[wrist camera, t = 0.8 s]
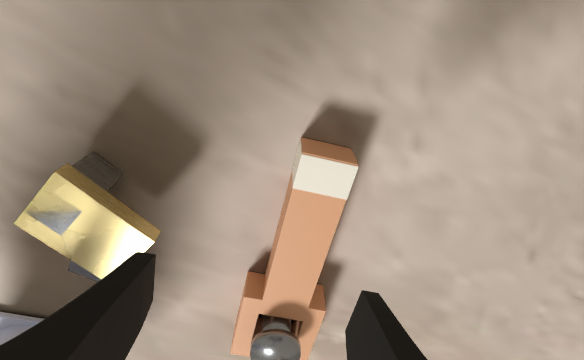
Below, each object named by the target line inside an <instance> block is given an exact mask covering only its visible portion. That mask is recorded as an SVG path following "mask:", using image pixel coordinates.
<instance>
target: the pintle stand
mask: <svg viewBox="0 0 584 360" xmlns="http://www.w3.org/2000/svg"><path fill="white" fill-rule="evenodd" d="M121 175H122V173H121V172H120V171H118V170H117V169H116V168H114V167H113V166H112V165H110V164H109V163H108V162H106V161H105V160H104V159H102V158H101V157H100V156H98V155H97V154H96V153H94V152H92V153H91V154H89V155H88V156H86V157H85V158H83V159H82V160H80V161H79V162H77V163H76V164H74V165H73V166H71V165H69V164H68V163H67V164H66V165H64V166H62V167H61V168H59V169H58V170H56V171H55V172H54V173H53V174H52V176H51V177H50V178H49V179H48V181H47V182H46V183H45V184H44V186H43V187H42V188H41V190H40V191H39V192H38V193H37V195H36V196H35V197H34V198H33V200H32V201H31V202H30V204H29V205H28V206H27V207H26V209H25V210H24V211H23V212H22V214H21V215H20V216H19V217H18V219H17V220H16V221H15V223H14V224H15V225H16V226H18V227H20V228H21V229H23V230H24V231H26V232H27V233H29V234H31V235H32V236H34V237H35V238H37V239H39V240H40V241H42V242H43V243H45V244H46V245H48V246H50V247H51V248H53V249H54V250H56V251H57V252H59V253H61V254H62V255H64V256H65V257H67V258H69V259H70V260H71V262H70V265H69V269H68V271H70V272H73V273H76V274H78V275H81V276H84V277H87V278H89V279H92V280H95V281H98V282H99V281H100V280H101V279H103V278H104V277H105V276H107V275H108V274H109V273H110V272H112V271H113V270H114V269H115V268H117V267H118V266H119V265H120V264H122V263H123V262H124V261H125V260H127V259H128V258H129V257H130V256H131V255H133V254H134V253H136V252H143V253H144V252H145V251H146V250H147V249H148V248H149V247H150V246H151V245H152V244H153V243H154V242H155V240H156V238H157V237H158V235H159V234H160V232H161V231H160V230H159V229H157V228H156V227H155V226H153V225H152V224H151V223H149V222H148V221H146V220H145V219H144V218H142V217H141V216H140V215H138V214H137V213H135V212H134V211H133V210H131V209H130V208H129V207H127V206H126V205H124V204H123V203H122V202H120V201H119V200H118V199H116V198H115V197H113V196H112V195H111V194H109V193H108V192H107V191H108V190H109V189H110V188H111V187H112V185H113V184H114V183H115V182H116V181H117V180H118V179H119V178H120V176H121ZM250 357H251V360H300V357H301V346H300V341H299V339H298V338H297V337H296V336H295V335H294V334H293V333H291V319H287V318H281V317H275V316H270V315H264V314H263V321H262V332H260V333H258V334H257V335H256V336H255V337H254V338H253V340H252V342H251V348H250Z"/></svg>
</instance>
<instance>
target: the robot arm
mask: <svg viewBox="0 0 584 360" xmlns="http://www.w3.org/2000/svg"><path fill="white" fill-rule="evenodd" d="M155 259H156V255H154V254H149V253H143V252H136V253H134V254H133V255H131V256H130V257H129V258H128V259H127V260H125V261H124V262H123V263H122V264H120V265H119V266H118V267H117V268H115V269H114V270H113V271H112V272H110V273H109V274H108V275H107V276H105V277H104V278H103V279H101V280H100V281H99V282H97V283H96V284H95V285H93V286H92V287H91V288H89V289H88V290H87V291H85V292H84V293H83V294H81V295H80V296H78V297H77V298H76V299H74V300H73V301H71V302H70V303H68V304H67V305H65V306H64V307H62V308H61V309H59V310H58V311H56V312H55V313H54V314H52V315H50V316H49V317H47V318H46V319H42V318H36V317H30V316H23V315H17V314H11V313H5V312H0V360H125V359H126V357H127V355H128V353H129V351H130V349H131V347H132V346H133V344H134V342H135V340H136V338H137V336H138V334H139V332H140V330H141V328H142V326H143V323H144V321H145V319H146V316H147V314H148V311H149V308H150V306H151V303H152V301H153V290H154V274H155ZM345 332H346V350H347V360H427V359H426V357H425V356H424V355H423V354H422V352H421V351H420V350H419V348H418V347H417V346H416V344H415V343H414V342H413V340H412V339H411V338H410V336H409V335H408V334H407V332H406V331H405V330H404V328H403V327H402V326H401V324H400V323H399V321H398V320H397V318H396V317H395V316H394V314H393V313H392V311H391V310H390V309H389V307H388V306H387V304H386V303H385V302H384V300H383V299H382V297H381V296H380V295H379V293H375V292H369V291H363V290H362V291H361V294H360V296H359V299H358V301H357V304H356V306H355V309H354V311H353V313H352V316H351V318H350V321H349V323H348V326H347V328H346V330H345Z"/></svg>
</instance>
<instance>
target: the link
mask: <svg viewBox="0 0 584 360" xmlns="http://www.w3.org/2000/svg"><path fill="white" fill-rule="evenodd" d="M358 166H359V164H358V162H357V160H356V158H355V156H354V153H353V151H352V149H351V148H346V147H342V146H338V145H333V144H329V143H324V142H320V141H316V140H311V139H307V138H303V137H301V139H300V142H299V146H298V150H297V154H296V157H295V161H294V165H293V169H292V174H291V178H290V182H289V185H288V189H287V193H286V197H285V200H284V204H283V208H282V212H281V216H280V219H279V223H278V227H277V231H276V235H275V238H274V242H273V246H272V250H271V253H270V257H269V261H268V265H267V269H266V272H265V274H260V273H255V272H249V271H248V273H247V278H246V282H245V286H244V290H243V295H242V299H241V303H240V307H239V312H238V316H237V320H236V324H235V330H234V335H233V341H232V346H231V352H230V354H235V355H242V356H248V357H250V348H251V342H252V340H253V338H254V337H255V336H256V335H257V334H258V333H260V332H262V321H263V319H262V318H258V314H264V315H270V316H275V317H281V318H287V319H293V320H294V321H293V324H292V323H291V333H293V334H294V335H295V336H296V337H297V338H298V339H299V341H300V346H301V357H300V360H308V357H309V354H310V352H311V349H312V347H313V344H314V341H315V339H316V336H317V334H318V331H319V328H320V326H321V323H322V321H323V318H324V315H325V313H326V307H325V298H324V290H323V285H320V284H317V282H318V279H319V276H320V273H321V270H322V268H323V265H324V262H325V259H326V256H327V253H328V251H329V248H330V245H331V242H332V239H333V236H334V234H335V231H336V228H337V225H338V222H339V219H340V217H341V214H342V211H343V208H344V205H345V202H346V200H347V198H348V196H349V193H350V190H351V187H352V184H353V181H354V179H355V176H356V173H357V170H358Z"/></svg>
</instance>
